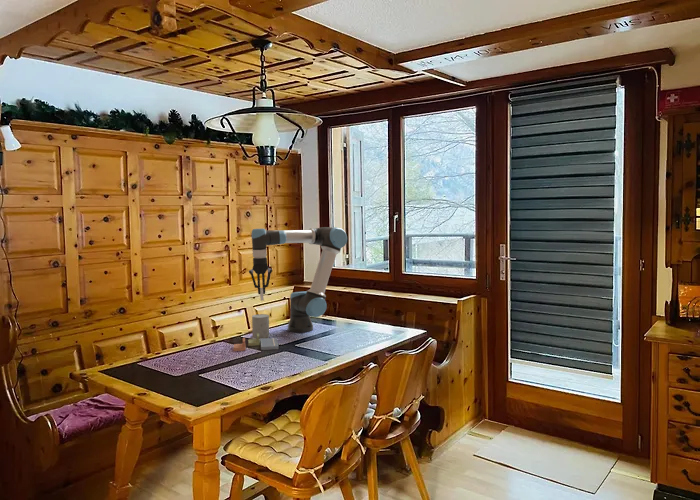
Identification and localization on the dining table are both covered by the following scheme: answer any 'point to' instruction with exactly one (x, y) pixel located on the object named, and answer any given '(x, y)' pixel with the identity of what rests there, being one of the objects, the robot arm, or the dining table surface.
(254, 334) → the grey cylinder
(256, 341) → the olive stub
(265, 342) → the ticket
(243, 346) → the terracotta stub
